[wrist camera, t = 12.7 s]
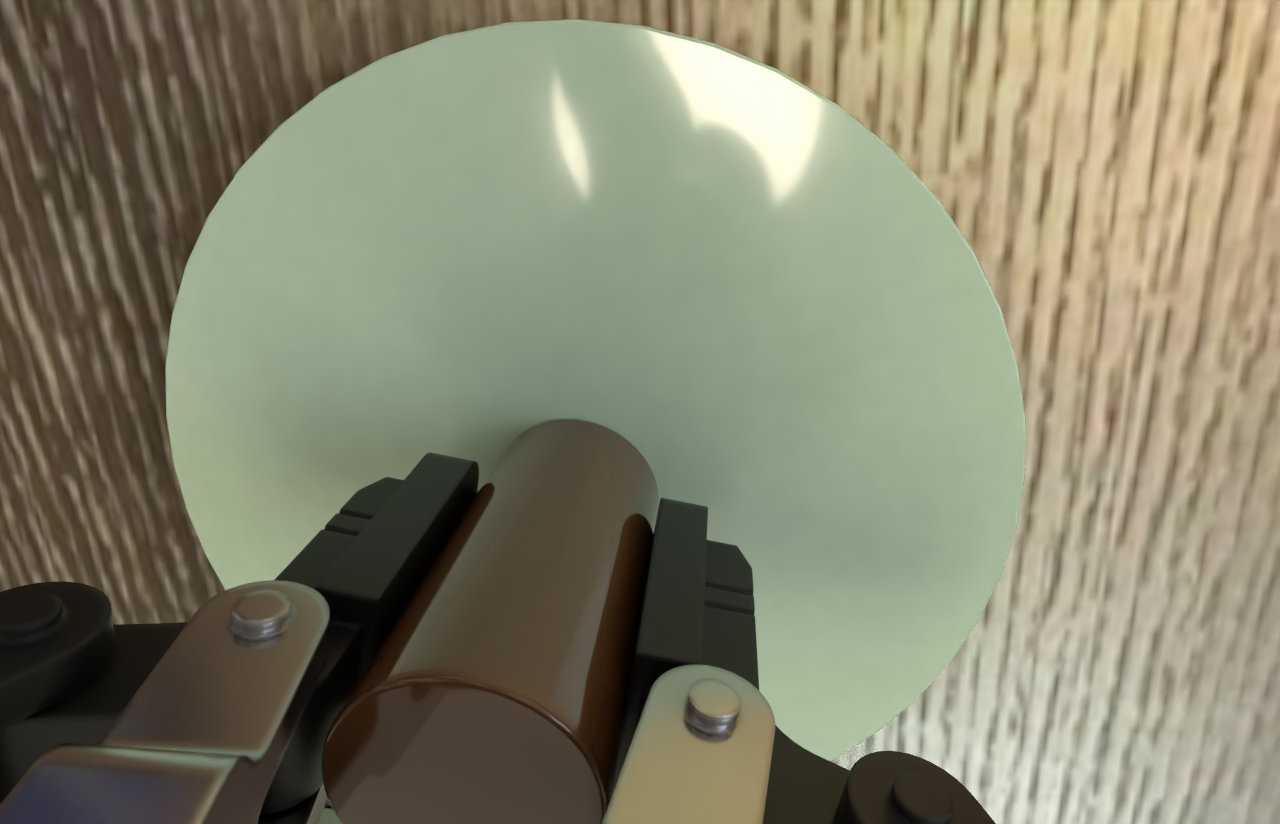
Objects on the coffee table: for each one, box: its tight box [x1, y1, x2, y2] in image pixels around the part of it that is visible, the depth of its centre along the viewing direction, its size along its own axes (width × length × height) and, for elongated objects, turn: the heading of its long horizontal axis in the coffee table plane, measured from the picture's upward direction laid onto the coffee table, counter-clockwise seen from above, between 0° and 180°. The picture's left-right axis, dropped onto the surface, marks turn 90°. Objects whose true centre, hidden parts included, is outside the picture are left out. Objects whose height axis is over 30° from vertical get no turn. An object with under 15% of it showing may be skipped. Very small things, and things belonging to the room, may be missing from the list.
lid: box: [165, 19, 1026, 824], centre depth 11 cm, size 14×14×7 cm
